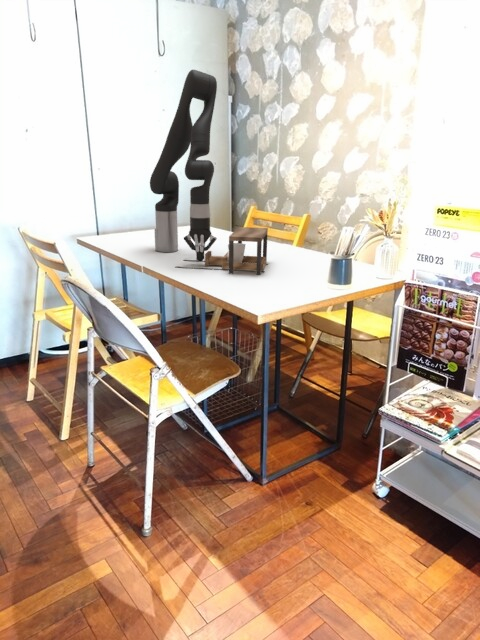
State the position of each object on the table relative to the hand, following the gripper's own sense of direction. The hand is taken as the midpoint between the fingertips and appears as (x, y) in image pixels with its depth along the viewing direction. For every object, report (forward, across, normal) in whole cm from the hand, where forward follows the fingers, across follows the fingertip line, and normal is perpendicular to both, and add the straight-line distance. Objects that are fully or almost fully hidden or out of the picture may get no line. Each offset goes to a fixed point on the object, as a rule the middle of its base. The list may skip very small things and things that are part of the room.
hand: (200, 261), depth 193 cm
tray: (+1, +14, 0) cm, 14 cm away
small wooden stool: (+2, +19, 0) cm, 19 cm away
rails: (+2, +9, 0) cm, 9 cm away
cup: (+2, +13, +2) cm, 13 cm away
